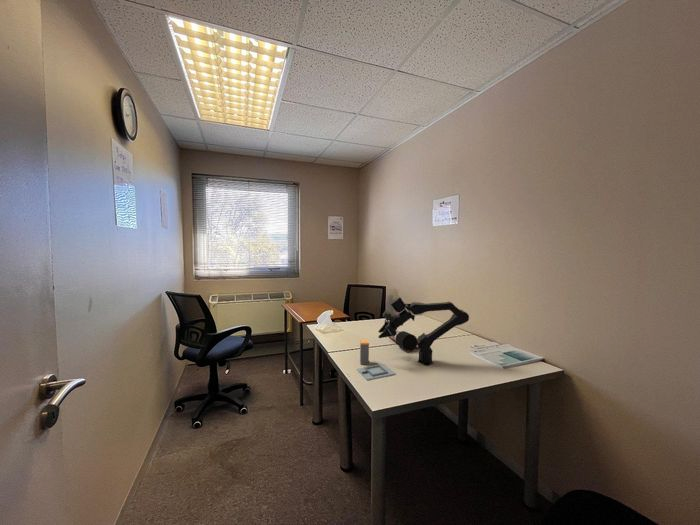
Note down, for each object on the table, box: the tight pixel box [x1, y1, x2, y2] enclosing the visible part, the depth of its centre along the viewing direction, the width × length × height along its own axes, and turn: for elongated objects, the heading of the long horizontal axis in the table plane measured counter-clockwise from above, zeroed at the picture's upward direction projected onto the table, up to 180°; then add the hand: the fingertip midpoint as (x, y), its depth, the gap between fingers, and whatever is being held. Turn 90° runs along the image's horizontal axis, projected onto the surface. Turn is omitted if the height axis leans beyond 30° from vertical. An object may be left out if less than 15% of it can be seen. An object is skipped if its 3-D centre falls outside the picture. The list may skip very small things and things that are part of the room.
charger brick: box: [359, 339, 370, 366], centre depth 151 cm, size 4×4×12 cm
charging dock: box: [356, 363, 397, 381], centre depth 140 cm, size 16×12×2 cm
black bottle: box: [389, 330, 418, 352], centre depth 183 cm, size 10×34×10 cm, turn 15°
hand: (378, 334), depth 154 cm, fingers open, 9 cm apart
